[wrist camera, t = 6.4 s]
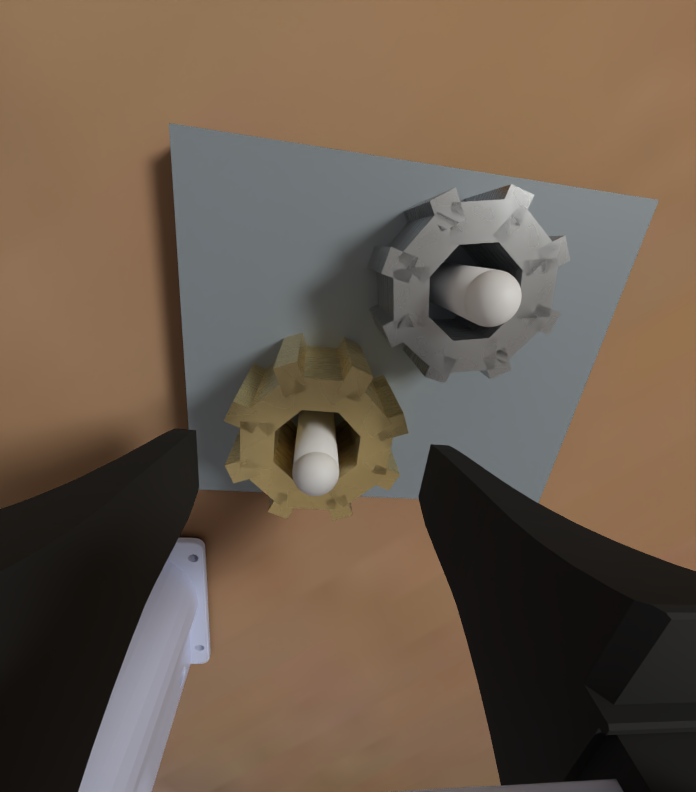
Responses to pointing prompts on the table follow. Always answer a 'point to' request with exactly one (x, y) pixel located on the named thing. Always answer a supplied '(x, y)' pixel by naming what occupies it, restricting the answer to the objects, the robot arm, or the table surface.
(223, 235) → the gear board
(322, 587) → the table surface
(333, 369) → the brass gear
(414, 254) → the fixed gear
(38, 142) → the table surface
